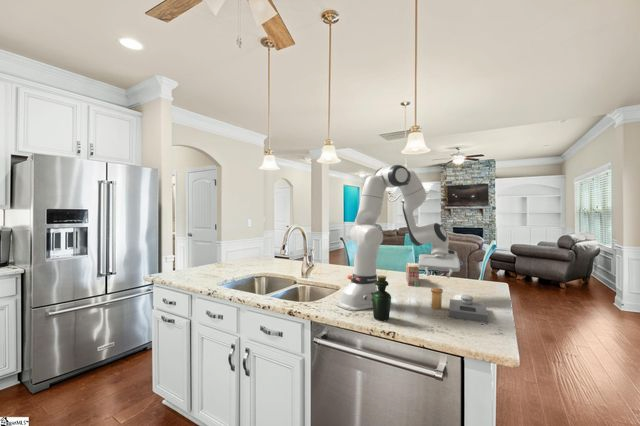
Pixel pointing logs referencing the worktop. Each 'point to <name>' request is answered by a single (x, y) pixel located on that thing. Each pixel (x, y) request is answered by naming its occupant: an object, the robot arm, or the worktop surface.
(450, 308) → the gray peg hole board
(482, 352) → the worktop surface
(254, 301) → the worktop surface
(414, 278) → the stack of blocks
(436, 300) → the mushroom head peg
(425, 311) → the worktop surface
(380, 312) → the potion bottle
